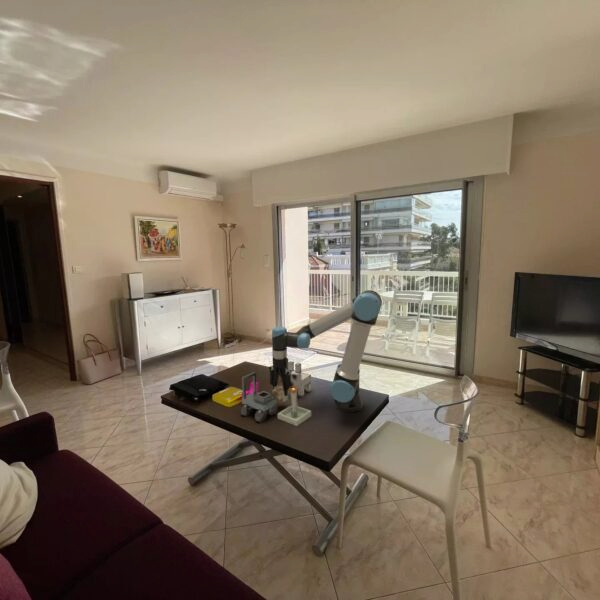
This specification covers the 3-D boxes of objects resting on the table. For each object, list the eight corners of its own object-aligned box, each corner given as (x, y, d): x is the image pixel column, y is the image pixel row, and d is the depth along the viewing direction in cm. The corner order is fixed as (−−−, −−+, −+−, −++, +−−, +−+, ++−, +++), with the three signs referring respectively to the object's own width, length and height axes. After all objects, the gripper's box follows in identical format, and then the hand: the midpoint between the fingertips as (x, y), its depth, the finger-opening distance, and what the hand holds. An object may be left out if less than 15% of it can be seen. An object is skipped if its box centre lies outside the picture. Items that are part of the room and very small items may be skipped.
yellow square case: (231, 392, 190) (231, 385, 190) (249, 399, 181) (249, 391, 181) (211, 402, 178) (210, 394, 178) (229, 409, 170) (228, 401, 169)
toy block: (252, 406, 172) (252, 393, 171) (242, 405, 173) (241, 392, 172) (262, 394, 186) (262, 382, 185) (252, 393, 188) (252, 381, 187)
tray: (311, 416, 160) (311, 410, 160) (296, 426, 151) (296, 421, 150) (292, 409, 167) (292, 404, 167) (277, 419, 158) (277, 413, 158)
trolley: (279, 413, 164) (278, 376, 161) (260, 425, 153) (258, 385, 150) (258, 405, 173) (257, 370, 170) (239, 416, 162) (237, 378, 159)
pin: (300, 415, 159) (300, 387, 157) (295, 419, 156) (294, 390, 153) (293, 413, 162) (292, 384, 160) (287, 417, 159) (287, 388, 156)
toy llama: (313, 389, 192) (312, 357, 189) (296, 400, 178) (296, 366, 175) (303, 386, 196) (302, 355, 193) (286, 397, 182) (285, 363, 179)
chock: (288, 398, 169) (288, 388, 168) (279, 404, 164) (279, 393, 163) (281, 396, 172) (281, 385, 171) (272, 401, 167) (272, 390, 166)
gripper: (298, 358, 162) (298, 401, 165) (271, 352, 173) (272, 392, 176) (288, 362, 156) (289, 407, 160) (262, 355, 167) (263, 397, 170)
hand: (280, 399), depth 168 cm, fingers closed on chock, 5 cm apart
